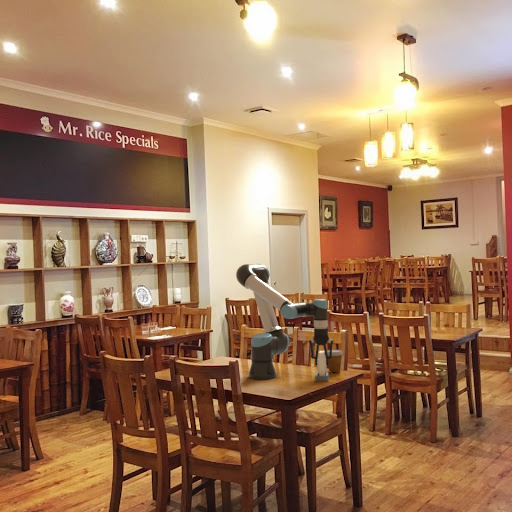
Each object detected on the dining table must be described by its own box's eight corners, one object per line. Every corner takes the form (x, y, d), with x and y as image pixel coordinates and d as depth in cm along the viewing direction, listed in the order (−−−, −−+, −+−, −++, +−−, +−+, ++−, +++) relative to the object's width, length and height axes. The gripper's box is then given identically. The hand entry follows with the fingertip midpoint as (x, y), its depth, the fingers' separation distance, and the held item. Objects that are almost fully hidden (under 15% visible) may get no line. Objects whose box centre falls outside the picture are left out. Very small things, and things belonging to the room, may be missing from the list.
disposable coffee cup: (342, 370, 317) (342, 349, 317) (343, 373, 307) (342, 352, 307) (325, 370, 318) (325, 349, 318) (326, 373, 308) (325, 352, 308)
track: (314, 381, 289) (314, 376, 289) (316, 375, 303) (316, 370, 303) (328, 381, 288) (328, 376, 288) (329, 375, 302) (329, 370, 302)
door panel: (319, 372, 300) (318, 350, 301) (325, 372, 300) (325, 350, 300) (318, 376, 292) (317, 353, 292) (324, 376, 291) (324, 353, 291)
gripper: (305, 328, 294) (306, 372, 294) (336, 328, 291) (337, 373, 291) (306, 327, 301) (307, 369, 301) (336, 327, 298) (337, 370, 298)
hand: (322, 371), depth 296 cm, fingers closed on door panel, 3 cm apart
